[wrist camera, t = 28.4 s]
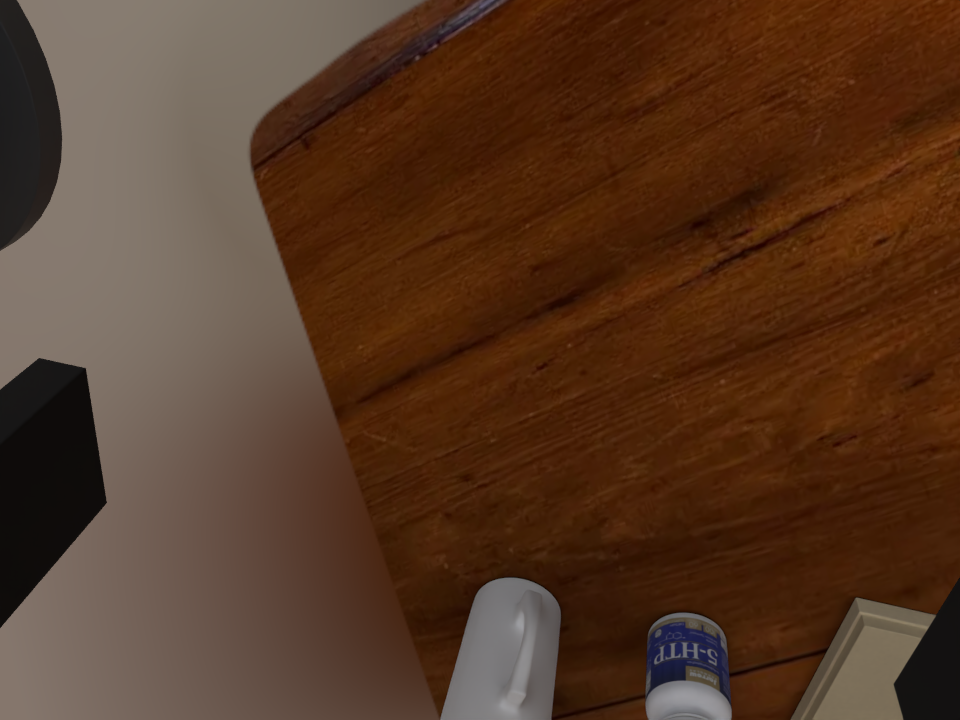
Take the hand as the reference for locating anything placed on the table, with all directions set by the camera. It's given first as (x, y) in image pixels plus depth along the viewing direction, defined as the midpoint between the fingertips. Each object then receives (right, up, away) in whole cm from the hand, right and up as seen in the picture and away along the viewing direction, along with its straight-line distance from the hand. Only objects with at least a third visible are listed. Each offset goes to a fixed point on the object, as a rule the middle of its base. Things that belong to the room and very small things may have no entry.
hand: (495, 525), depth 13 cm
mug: (+3, -14, +46) cm, 48 cm away
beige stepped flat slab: (+27, -19, +44) cm, 55 cm away
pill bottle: (+14, -16, +45) cm, 50 cm away
